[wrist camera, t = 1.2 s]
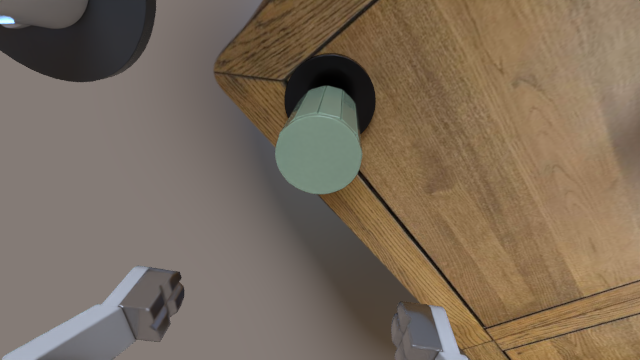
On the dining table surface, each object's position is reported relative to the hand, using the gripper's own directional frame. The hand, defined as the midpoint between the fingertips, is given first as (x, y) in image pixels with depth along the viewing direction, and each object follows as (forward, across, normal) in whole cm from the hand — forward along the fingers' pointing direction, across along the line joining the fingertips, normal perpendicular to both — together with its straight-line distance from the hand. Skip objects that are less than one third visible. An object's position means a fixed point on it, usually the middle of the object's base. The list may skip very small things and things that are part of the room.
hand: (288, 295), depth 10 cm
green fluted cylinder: (+21, 0, 0) cm, 21 cm away
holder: (+28, 0, 0) cm, 28 cm away
